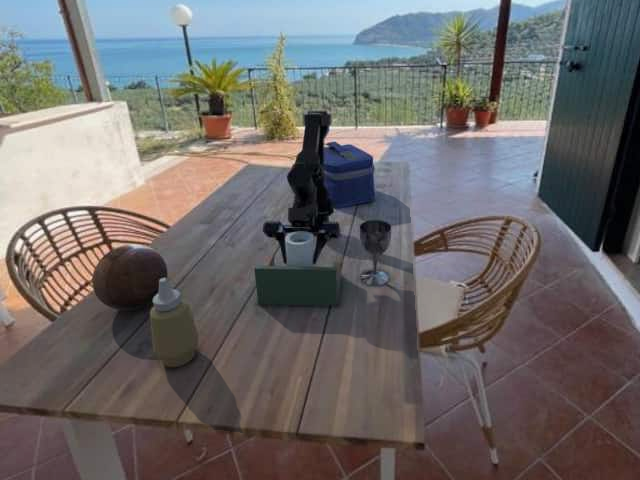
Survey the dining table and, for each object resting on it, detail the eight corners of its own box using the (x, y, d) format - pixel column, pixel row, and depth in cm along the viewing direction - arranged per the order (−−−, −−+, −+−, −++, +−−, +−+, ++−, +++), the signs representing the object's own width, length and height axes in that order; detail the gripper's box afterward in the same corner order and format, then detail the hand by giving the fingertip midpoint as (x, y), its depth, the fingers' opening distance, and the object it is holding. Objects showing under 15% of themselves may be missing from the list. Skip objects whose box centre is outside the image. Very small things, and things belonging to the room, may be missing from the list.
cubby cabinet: (270, 274, 104) (267, 241, 101) (342, 275, 104) (341, 242, 100) (257, 304, 92) (253, 268, 89) (337, 306, 92) (336, 269, 88)
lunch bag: (305, 185, 170) (303, 139, 162) (349, 178, 178) (349, 134, 171) (331, 210, 144) (330, 157, 136) (381, 201, 152) (382, 150, 145)
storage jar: (302, 272, 102) (299, 228, 97) (321, 281, 98) (319, 236, 94) (282, 284, 97) (279, 238, 92) (301, 294, 93) (299, 247, 89)
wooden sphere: (185, 289, 98) (175, 236, 93) (143, 328, 85) (127, 269, 79) (134, 282, 101) (121, 230, 96) (85, 319, 87) (66, 262, 82)
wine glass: (368, 289, 98) (369, 236, 92) (354, 274, 104) (354, 224, 99) (395, 281, 101) (397, 229, 96) (380, 266, 108) (381, 217, 102)
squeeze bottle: (166, 343, 80) (149, 268, 74) (206, 340, 81) (192, 266, 75) (150, 374, 73) (129, 294, 66) (194, 371, 74) (177, 291, 67)
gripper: (260, 190, 93) (252, 254, 87) (338, 191, 93) (335, 255, 86) (271, 207, 103) (264, 265, 97) (341, 208, 103) (338, 266, 97)
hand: (299, 263), depth 94 cm, fingers closed on storage jar, 7 cm apart
